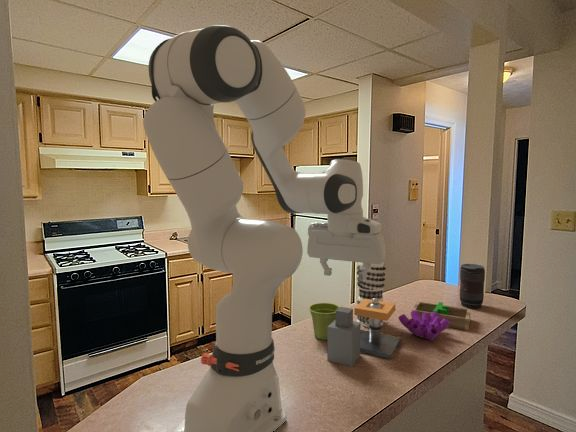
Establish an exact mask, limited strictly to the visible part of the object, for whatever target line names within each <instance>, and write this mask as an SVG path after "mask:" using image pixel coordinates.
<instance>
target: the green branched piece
mask: <svg viewBox="0 0 576 432" xmlns="http://www.w3.org/2000/svg"><path fill="white" fill-rule="evenodd" d="M436 304H437V306H436V307H435V309H434V310H433V312H436V313H439V314H445V315H448V310H449V306H450V305H443V302H442V301H439V302H438V303H436Z"/></svg>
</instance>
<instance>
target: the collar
mask: <svg viewBox="0 0 576 432" xmlns="http://www.w3.org/2000/svg"><path fill="white" fill-rule="evenodd" d="M371 302H372V300H370V299H364V300H363V301H362V302H360V303H359V304H357V305H356V306H355V307H354V308H353V316H356V317H357V316H362V317H368V318H374V319H379V320H383V321H385V322H388V321H389V320H390V318H391V317H392V315H393V314H394V313H395V312H396V303H394V302H388V301H383V302H382V301H379V303H380V304H381V309H375V308H370V303H371Z"/></svg>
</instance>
